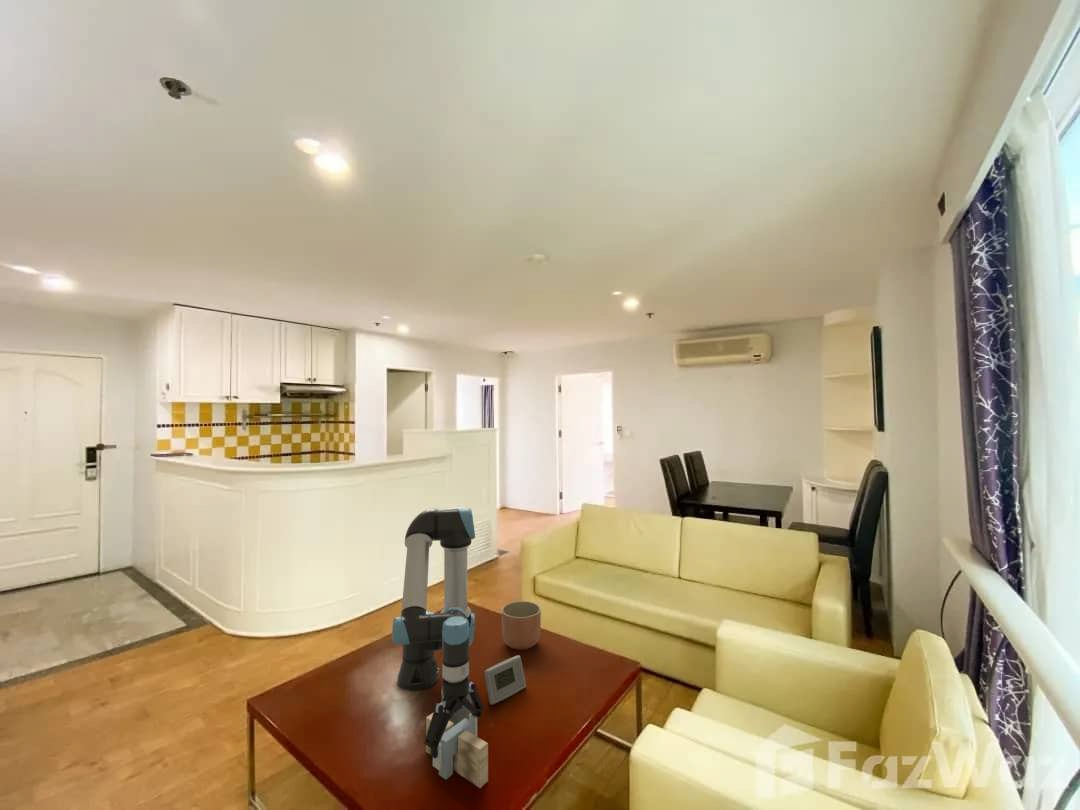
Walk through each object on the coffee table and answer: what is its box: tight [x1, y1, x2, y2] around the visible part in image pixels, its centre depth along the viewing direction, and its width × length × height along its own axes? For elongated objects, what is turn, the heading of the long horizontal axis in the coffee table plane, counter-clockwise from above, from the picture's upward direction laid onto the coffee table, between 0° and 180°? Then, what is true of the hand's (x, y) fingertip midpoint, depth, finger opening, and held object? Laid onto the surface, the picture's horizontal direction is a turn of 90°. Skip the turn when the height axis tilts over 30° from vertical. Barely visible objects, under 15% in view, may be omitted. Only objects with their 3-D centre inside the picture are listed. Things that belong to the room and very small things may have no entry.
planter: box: [501, 600, 542, 651], centre depth 195 cm, size 17×17×15 cm
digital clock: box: [483, 655, 527, 706], centre depth 161 cm, size 16×9×11 cm, turn 121°
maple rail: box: [425, 711, 489, 789], centre depth 127 cm, size 22×3×10 cm, turn 53°
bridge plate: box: [438, 718, 472, 780], centre depth 127 cm, size 3×10×10 cm, turn 143°
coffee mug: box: [440, 688, 473, 726], centre depth 149 cm, size 13×10×10 cm
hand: (455, 752), depth 127 cm, fingers open, 13 cm apart
